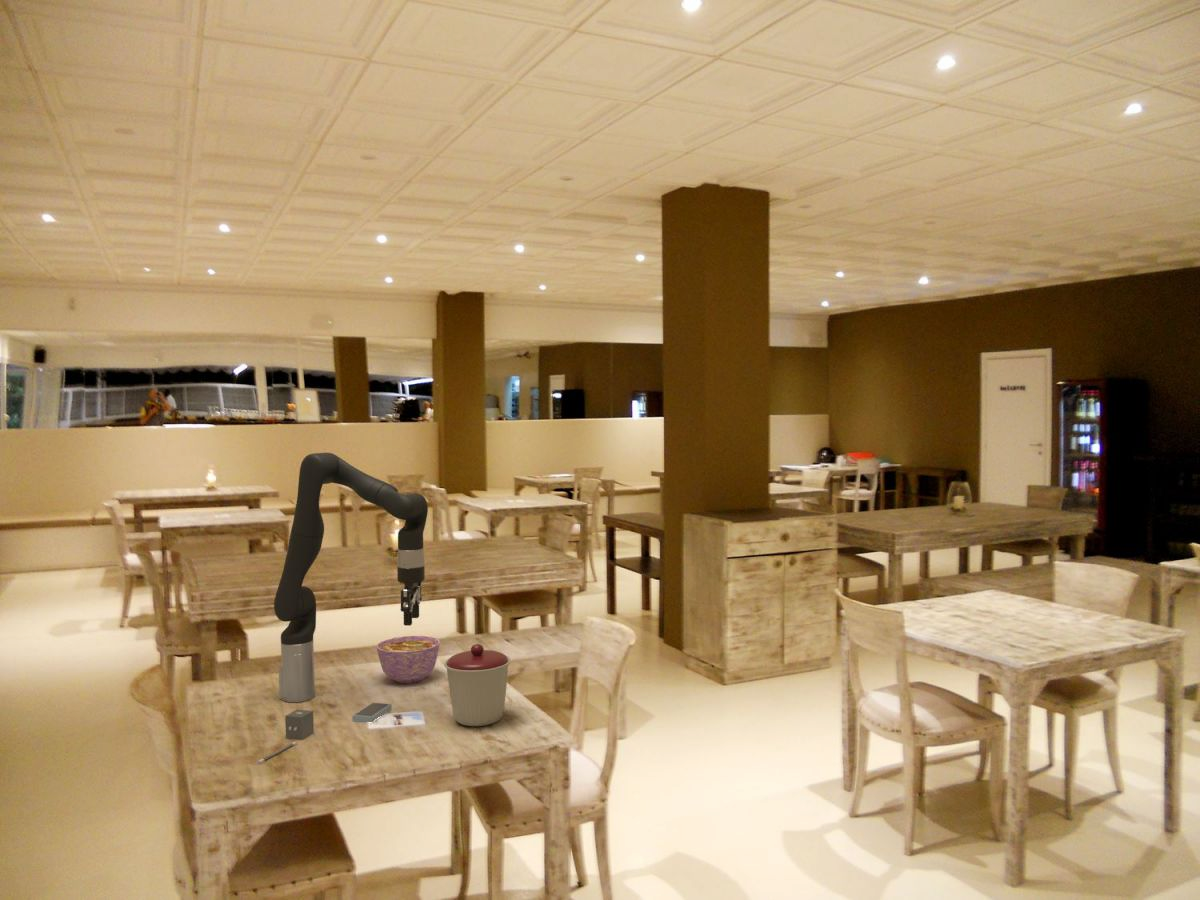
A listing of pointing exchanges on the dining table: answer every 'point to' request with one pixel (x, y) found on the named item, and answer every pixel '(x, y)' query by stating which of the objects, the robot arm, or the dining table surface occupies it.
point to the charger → (299, 724)
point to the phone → (371, 712)
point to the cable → (277, 752)
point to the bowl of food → (408, 657)
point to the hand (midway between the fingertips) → (411, 621)
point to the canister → (477, 685)
